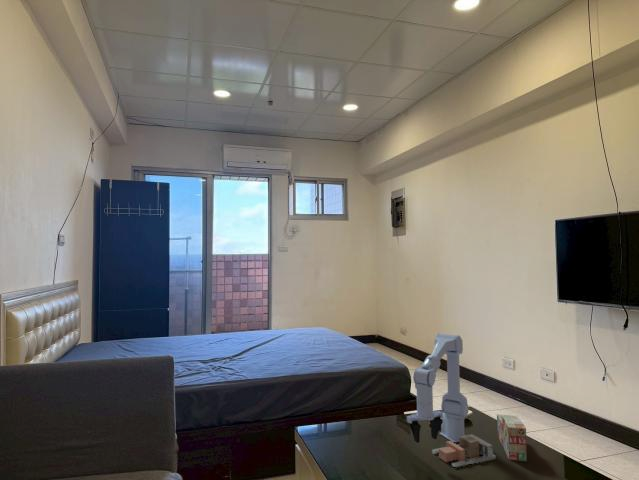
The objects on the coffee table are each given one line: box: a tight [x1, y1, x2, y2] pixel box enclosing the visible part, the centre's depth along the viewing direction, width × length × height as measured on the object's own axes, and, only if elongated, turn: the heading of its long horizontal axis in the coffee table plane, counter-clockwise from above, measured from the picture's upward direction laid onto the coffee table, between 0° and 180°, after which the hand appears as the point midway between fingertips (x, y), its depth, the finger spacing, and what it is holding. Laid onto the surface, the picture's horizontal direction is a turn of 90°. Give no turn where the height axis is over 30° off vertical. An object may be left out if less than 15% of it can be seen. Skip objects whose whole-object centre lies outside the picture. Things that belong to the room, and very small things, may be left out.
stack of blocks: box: [496, 413, 528, 462], centre depth 162 cm, size 21×6×12 cm, turn 167°
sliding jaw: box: [438, 440, 466, 463], centre depth 153 cm, size 8×7×4 cm
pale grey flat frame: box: [431, 433, 497, 468], centre depth 155 cm, size 13×19×4 cm
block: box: [458, 434, 480, 459], centre depth 156 cm, size 6×4×6 cm, turn 22°
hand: (425, 439), depth 149 cm, fingers open, 7 cm apart
